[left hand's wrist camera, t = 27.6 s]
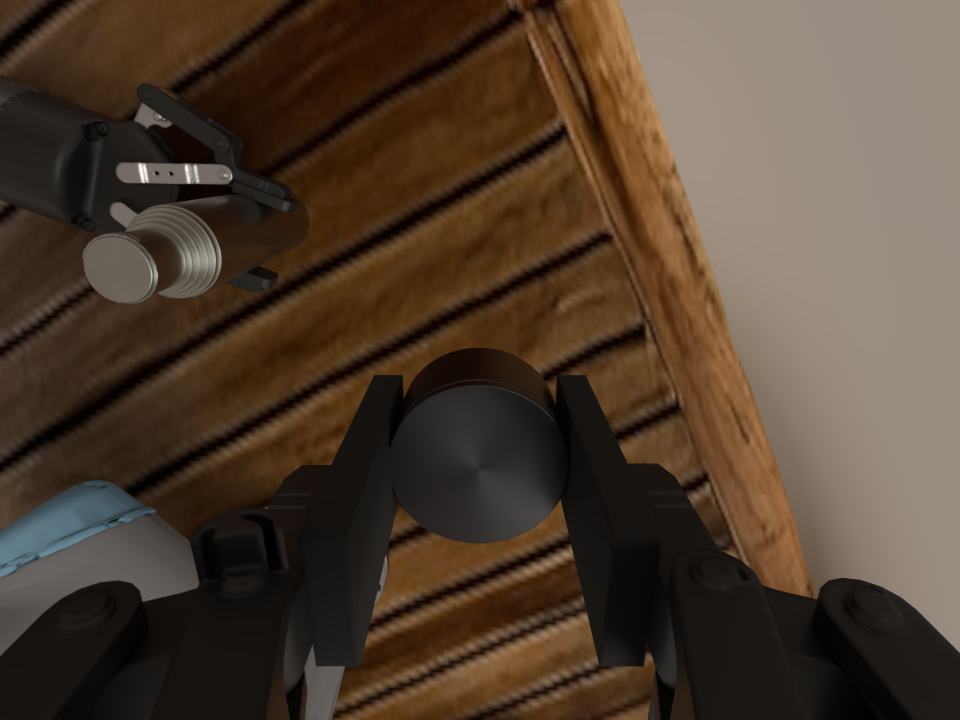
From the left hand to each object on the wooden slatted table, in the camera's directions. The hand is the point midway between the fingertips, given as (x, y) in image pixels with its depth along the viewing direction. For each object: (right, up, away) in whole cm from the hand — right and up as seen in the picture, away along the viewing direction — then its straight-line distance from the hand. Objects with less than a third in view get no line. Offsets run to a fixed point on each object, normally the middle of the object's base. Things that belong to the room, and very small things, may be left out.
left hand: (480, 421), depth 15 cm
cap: (0, -1, -2) cm, 2 cm away
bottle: (-16, +13, +29) cm, 35 cm away
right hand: (-14, +10, +23) cm, 28 cm away
